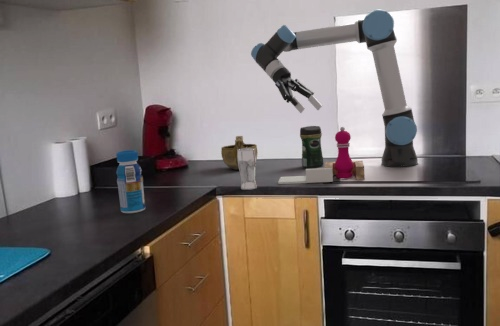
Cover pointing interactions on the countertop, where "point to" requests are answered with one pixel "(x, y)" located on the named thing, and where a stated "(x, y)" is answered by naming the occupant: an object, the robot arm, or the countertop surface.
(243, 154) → the beer glass
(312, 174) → the white rectangular block
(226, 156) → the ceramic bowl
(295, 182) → the plate
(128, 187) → the beverage bottle
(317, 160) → the coffee jar
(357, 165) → the block
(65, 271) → the countertop surface
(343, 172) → the pepper mill
